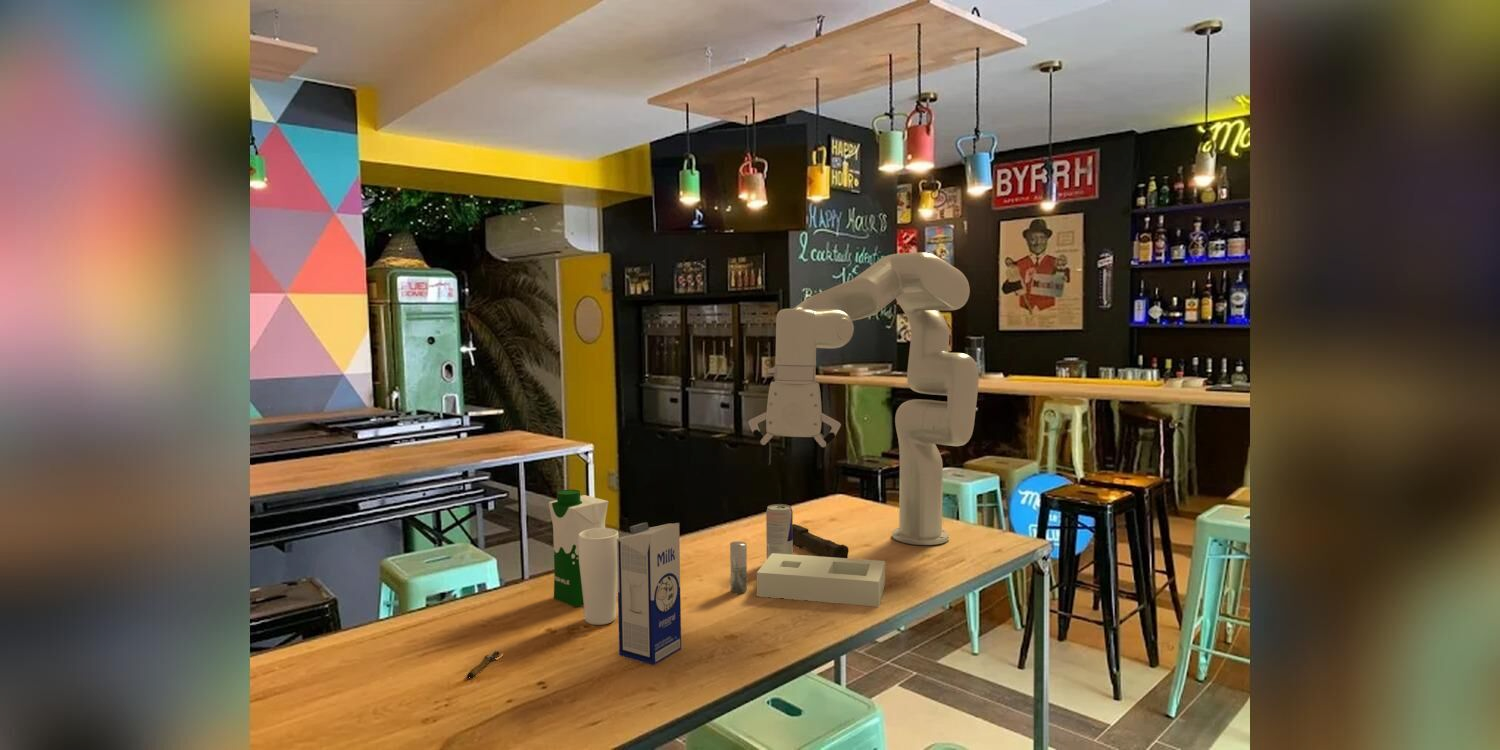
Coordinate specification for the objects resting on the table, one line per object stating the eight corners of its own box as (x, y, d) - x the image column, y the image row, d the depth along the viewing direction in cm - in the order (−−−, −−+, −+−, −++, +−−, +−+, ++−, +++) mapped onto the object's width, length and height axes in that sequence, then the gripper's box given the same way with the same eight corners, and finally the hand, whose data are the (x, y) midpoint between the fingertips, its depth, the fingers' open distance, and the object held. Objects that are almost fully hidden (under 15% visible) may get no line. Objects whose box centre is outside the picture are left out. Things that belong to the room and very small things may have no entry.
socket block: (772, 575, 158) (771, 553, 158) (885, 584, 153) (885, 560, 152) (757, 596, 147) (756, 572, 146) (878, 606, 141) (878, 581, 141)
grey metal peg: (733, 587, 151) (732, 541, 151) (748, 589, 151) (748, 542, 150) (728, 593, 149) (728, 545, 148) (744, 594, 148) (744, 546, 147)
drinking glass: (586, 631, 132) (584, 541, 130) (575, 617, 137) (573, 531, 136) (626, 623, 135) (624, 535, 133) (613, 610, 141) (611, 525, 139)
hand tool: (849, 562, 167) (849, 540, 166) (834, 566, 165) (834, 543, 164) (799, 541, 183) (798, 521, 183) (784, 543, 181) (784, 523, 181)
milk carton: (653, 665, 118) (650, 532, 117) (618, 655, 122) (615, 526, 120) (682, 648, 124) (680, 521, 123) (648, 639, 128) (645, 515, 126)
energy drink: (795, 562, 167) (795, 505, 166) (788, 570, 162) (788, 511, 161) (771, 559, 168) (770, 503, 167) (763, 567, 163) (762, 509, 162)
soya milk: (546, 598, 146) (543, 490, 145) (587, 586, 153) (585, 482, 151) (574, 610, 140) (571, 498, 139) (616, 597, 147) (613, 489, 146)
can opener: (473, 681, 115) (472, 673, 115) (459, 679, 115) (458, 671, 115) (508, 655, 123) (508, 647, 123) (495, 653, 124) (494, 646, 124)
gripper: (746, 374, 148) (744, 467, 149) (841, 377, 145) (838, 471, 146) (752, 373, 155) (750, 461, 156) (842, 375, 152) (840, 465, 153)
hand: (793, 466), depth 151 cm, fingers open, 9 cm apart
